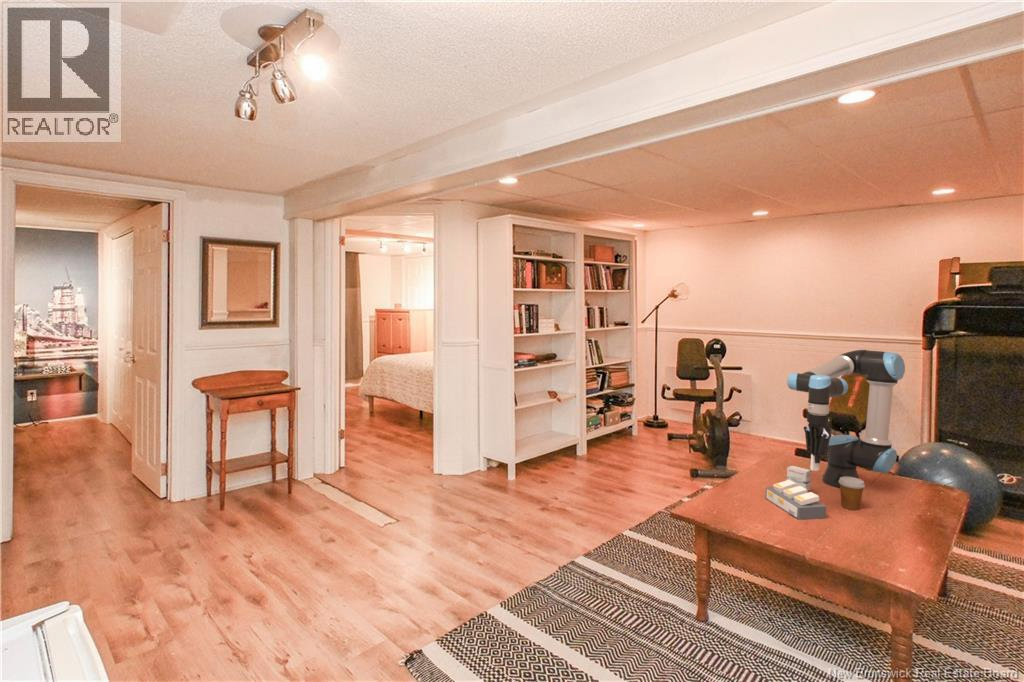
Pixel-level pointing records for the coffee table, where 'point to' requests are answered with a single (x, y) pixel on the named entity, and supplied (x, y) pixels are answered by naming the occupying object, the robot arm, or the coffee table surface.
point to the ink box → (799, 476)
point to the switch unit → (796, 506)
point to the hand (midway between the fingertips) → (814, 469)
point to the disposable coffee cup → (851, 492)
